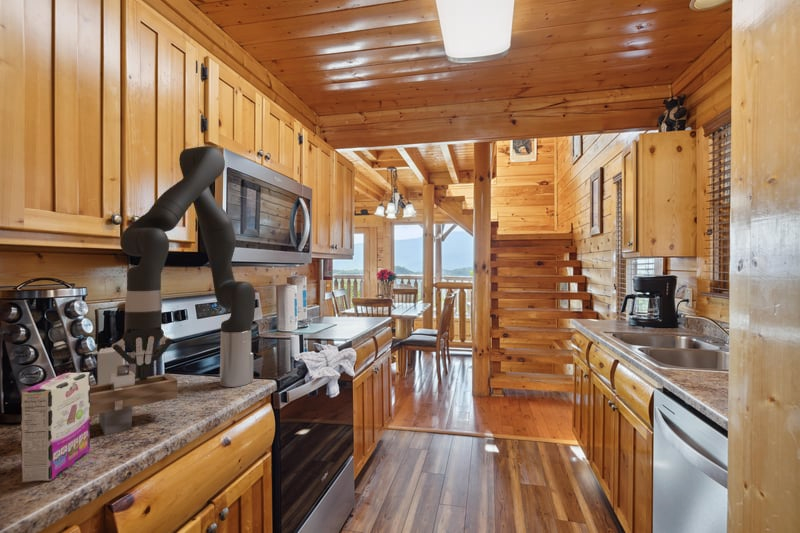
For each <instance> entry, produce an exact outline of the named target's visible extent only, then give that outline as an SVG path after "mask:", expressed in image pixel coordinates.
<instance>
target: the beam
mask: <svg viewBox="0 0 800 533" xmlns="http://www.w3.org/2000/svg"><path fill="white" fill-rule="evenodd" d="M177 398H178V379H177V378H175V377H174V376H172V375H171V374H170V373H165V374H158V375H152V376H151V375H150V376H149V377H147V379H145V380H139V379H138V378H135V386H131V387H125V388H117V389H114V390H111V383H107V384H101V385H98V384H96V385H90V410H89V411H90V416H93V415H98V414H99V415H98V424H99V426H100V428H101V431H102V432H103V435H104V436H108V435H112V434H117V433H121V432H125V431H129V430H132V428H133V427H132V426H133V408H134V407H137V406H138V407H139V406H142V405H143V406H144V405H148V404H153V403H159V402H164V401H168V400H172V399H177Z"/></svg>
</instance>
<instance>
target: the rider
mask: <svg viewBox="0 0 800 533" xmlns="http://www.w3.org/2000/svg"><path fill="white" fill-rule="evenodd" d="M135 379H136V376H135V372H133V371H132V370H130V364H129V363H128V364H127V363H125V364H123V365H118V366H117V373H113V374H111V390H114V389H117V388H125V387H131V386H135Z"/></svg>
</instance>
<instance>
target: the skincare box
mask: <svg viewBox="0 0 800 533" xmlns="http://www.w3.org/2000/svg"><path fill="white" fill-rule="evenodd" d="M125 349H126V348H125ZM125 349H123V350H124V351H125V352H126V350H125ZM123 364H126V360H125V359H124V358H123V357H121V356H120V355H119V354H118V353H117V352H116V351H115V350H114V349H113V348H112V347H104V348H100V349H98V352H97V385H101V384H107V383H111V374H113V373H117V366H118V365H123Z"/></svg>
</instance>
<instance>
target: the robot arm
mask: <svg viewBox="0 0 800 533" xmlns="http://www.w3.org/2000/svg"><path fill="white" fill-rule="evenodd" d="M178 161H179V162H178V163H179V168H180V171H181V174H182V177H183V178H182V179H181V180H179V181H178V182H176V183H175V184H173V185H172V186H171V187H169V188H168V189H167V190H165V191H164V192H162V194H161V195H160V196H159V197H158V199H156V200H155V202H154V203H153V204H152V206H151V207H150V209H149V210H148V211H147V212H146V213H145V214H143V215H141V216H140V217H138V218H137V219H136V220H135V221H133V222H132V223H131V224H130V225H129V226H127V228H125V230H124V231H123V232H122V234H121V237H120V239H119V240H120V241H119V244H120V248H121V250H122V252H124V253H125V254H126V255H129V256H132V257H141V258H140V262H139V263H138V265H136V266H131V267H130V268H129V269H128V270H127V273H126V294H125V300H124V301H125V302H124V303H125V304H124V307H125V308H124V332H123V334H122V336H121V339H120V340H118V341H117V342H115V343H112V344H111V347H112V348H113V349H114V350H115V351H116V352H117V353H118V354H119V355H120V356H121V357H123V358H124V359H125V362H126V363H128V364H129V365H135V366H134V367H135V368H134V369H135V370H134V374H135V378H136V379H139V380H145V379H147V377H150V376H151V364H152V363H153V362H155V361H158V360H160V359H161V357H162V356H163V355H164V353H165V352H166V351H167V350H168V348H169V347H170V346H171V345H172V343H173V342H174V340H173V339H172V338H170V337H166V336H165V334H164V331H163V330H162V311H163V303H162V302H163V300H162V299H163V298H162V291H161V290H162V287H161V286H162V272H163V270H164V267H165V264H166V260H167V258H168V254H169V250H170V239H169V237H168V234H167V233H168V232H171V231H173V229H175V228H176V227H177V226H178V224H179V222H180V221H181V220H182V218H183V217H184V216H185V214H186V213H187V211H188V210H189V208H190V207H191V206H192V204H193V207H194V209H195V210H194V211H195V213H196V216H197V221H198V224H199V229H200V233H201V237H202V240H203V244H204V246H205V250H206V254H207V257H208V264H209V266H210V269H211V270H210V271H211V275H212V283H213V288H214V290H213V291H214V294H215V299H216V301H217V303H218V305H219V306H220V307H222V308H223V309H228V310H231V311H230V317H229V318H228V319H226V320H224V321H222V322H221V323H220V324H221V325H220V350H219V351H220V353H219V354H220V355H219V359H220V360H219V361H220V362H219V364H220V365H219V366H220V367H219V385H220V386H222V387H225V388H234V387H235V388H236V387H242V386H245V385H248V384H250V383H253V382H254V352H252V328H253V327H252V326H253V322H254V320H255V309H256V290H255V288H254V285H252V283H250V282H248V281H241V280H237V281H236V280H235V276H234V272H233V269H232V268H233V267H232V261H233V256H234V253H235V249H236V243H237V238H236V233H235V230H234V229H235V228H234V226H233V222H232V220H231V218H230V216H229V215H228V213H227V212H226V210H224V208H223V207H222V206H221V205H220V204H219V202H218V201H217V200H216V199H215V196H213V194H212V191H211V188H210V186H211V184H213V183H214V182H215V181H216V180H218V179H219V177H220V176H221V175H222V174H223V173H224V171H225V167H226V160H225V157H224V155H223V153H222V152H221V151H220V150H219V149H218V148H217V147H215V146H210V145H203V146H196V147H195V146H194V147H189V148H185V149H183V150H182V151H181V152H180V154H179V160H178ZM166 232H167V233H166ZM158 344H160V345H159V346H158V347H157V348H156V350H155V351H154V352H153V349H154V348H155V347H156V346H157V345H158ZM126 345H127V346H128V347H129V349H130V350H132V351H133V356H131V355H129V354H128V353H127V352H126V350H125V351H124V350H123V349H126ZM111 347H110V348H111Z"/></svg>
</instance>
